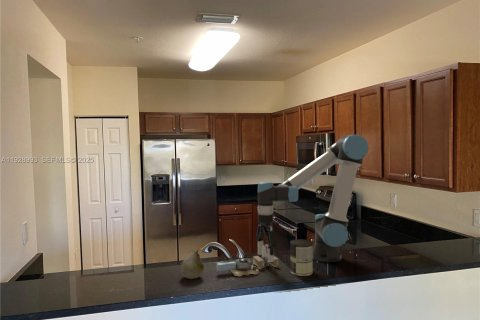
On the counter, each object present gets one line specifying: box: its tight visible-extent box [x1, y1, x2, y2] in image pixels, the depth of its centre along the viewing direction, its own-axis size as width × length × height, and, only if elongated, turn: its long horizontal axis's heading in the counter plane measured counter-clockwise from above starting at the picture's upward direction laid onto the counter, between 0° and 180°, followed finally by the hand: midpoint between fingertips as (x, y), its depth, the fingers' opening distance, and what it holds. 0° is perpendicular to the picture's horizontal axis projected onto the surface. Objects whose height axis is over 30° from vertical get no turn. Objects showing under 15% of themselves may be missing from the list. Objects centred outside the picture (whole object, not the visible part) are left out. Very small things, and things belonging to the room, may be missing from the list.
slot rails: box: [252, 255, 279, 270], centre depth 172 cm, size 10×8×4 cm
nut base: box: [229, 265, 260, 277], centre depth 164 cm, size 11×11×3 cm
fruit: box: [180, 249, 205, 280], centre depth 156 cm, size 10×9×12 cm
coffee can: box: [289, 238, 314, 277], centre depth 162 cm, size 10×10×14 cm
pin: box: [261, 244, 270, 266], centre depth 172 cm, size 4×4×10 cm
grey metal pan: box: [216, 257, 253, 272], centre depth 162 cm, size 16×8×4 cm, turn 109°
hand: (265, 257), depth 172 cm, fingers open, 12 cm apart
